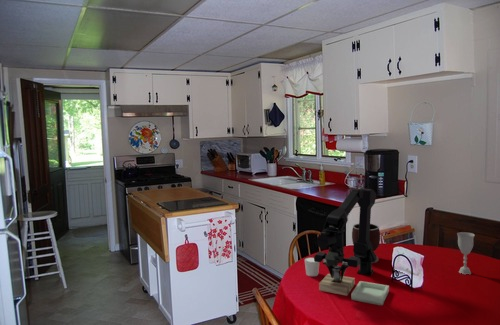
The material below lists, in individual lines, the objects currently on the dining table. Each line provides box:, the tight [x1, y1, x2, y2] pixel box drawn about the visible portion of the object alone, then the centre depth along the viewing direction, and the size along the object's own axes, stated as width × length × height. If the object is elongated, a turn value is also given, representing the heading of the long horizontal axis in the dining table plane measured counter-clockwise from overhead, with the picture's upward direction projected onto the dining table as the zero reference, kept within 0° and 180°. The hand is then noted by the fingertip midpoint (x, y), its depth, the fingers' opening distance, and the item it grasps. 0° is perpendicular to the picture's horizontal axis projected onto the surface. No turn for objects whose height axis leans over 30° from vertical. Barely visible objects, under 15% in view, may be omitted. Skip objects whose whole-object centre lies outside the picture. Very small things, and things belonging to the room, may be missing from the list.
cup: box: [304, 256, 320, 277], centre depth 186 cm, size 7×7×7 cm
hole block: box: [318, 273, 356, 296], centre depth 170 cm, size 12×12×3 cm
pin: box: [332, 265, 341, 283], centre depth 170 cm, size 4×4×9 cm
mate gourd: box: [351, 223, 381, 264], centre depth 204 cm, size 16×14×20 cm
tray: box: [350, 280, 390, 306], centre depth 162 cm, size 14×12×2 cm
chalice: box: [456, 231, 475, 275], centre depth 181 cm, size 7×7×18 cm
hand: (337, 278), depth 170 cm, fingers closed on pin, 4 cm apart
